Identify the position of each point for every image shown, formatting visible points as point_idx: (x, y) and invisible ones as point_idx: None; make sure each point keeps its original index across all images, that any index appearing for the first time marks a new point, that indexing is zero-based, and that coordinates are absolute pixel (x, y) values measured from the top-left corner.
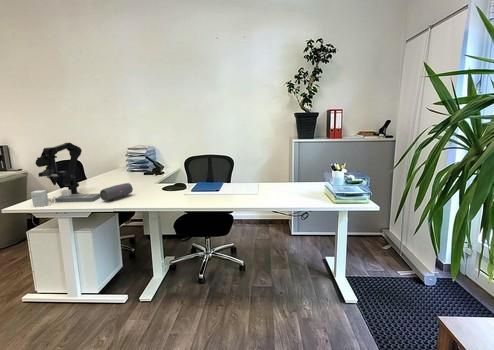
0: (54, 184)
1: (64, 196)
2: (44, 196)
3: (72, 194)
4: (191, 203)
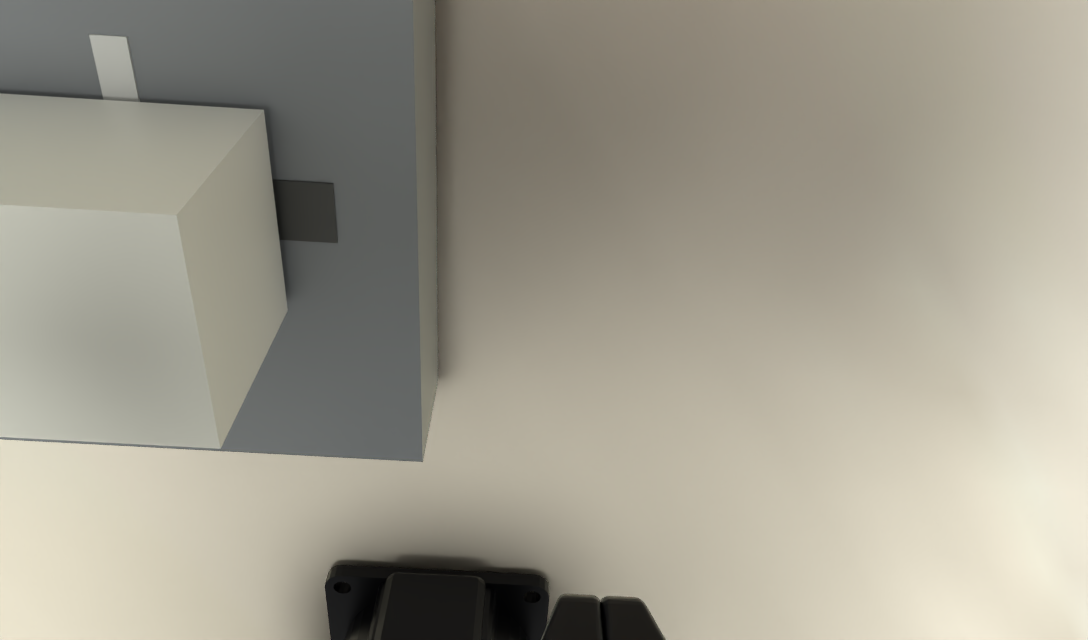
0: (567, 631)
1: None
2: None
3: None
4: None
